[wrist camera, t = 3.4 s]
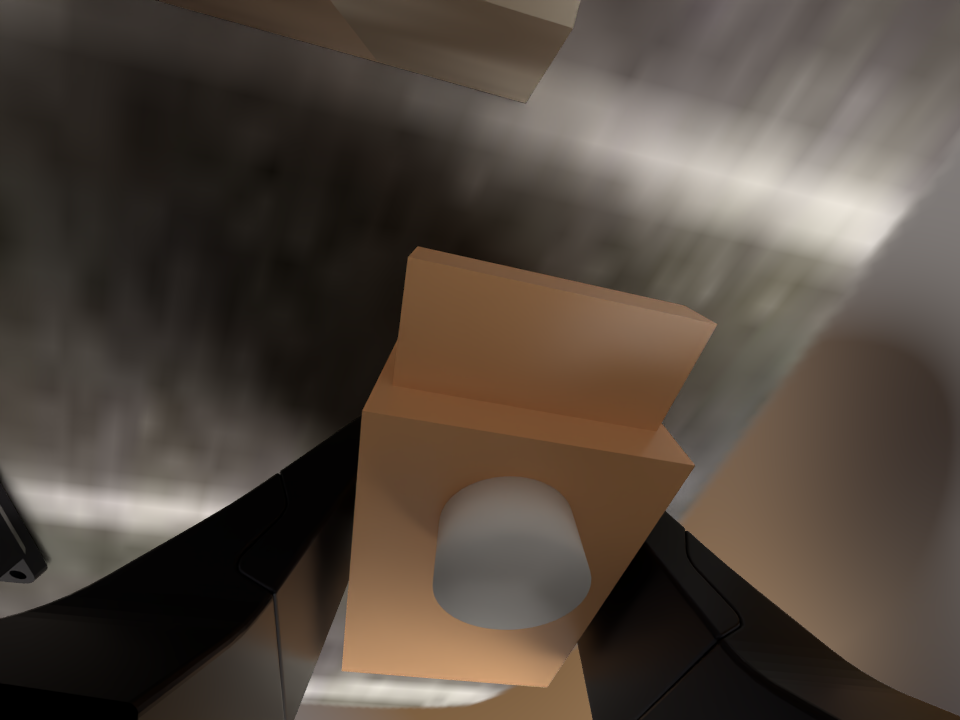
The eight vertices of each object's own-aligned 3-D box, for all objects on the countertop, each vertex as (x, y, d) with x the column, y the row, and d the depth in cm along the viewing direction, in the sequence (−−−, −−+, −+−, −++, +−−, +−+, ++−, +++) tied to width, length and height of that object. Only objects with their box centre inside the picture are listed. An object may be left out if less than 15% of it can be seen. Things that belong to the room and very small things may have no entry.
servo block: (390, 505, 12) (323, 765, 6) (432, 217, 7) (341, 290, 2) (505, 521, 12) (530, 775, 7) (604, 257, 8) (850, 391, 3)
